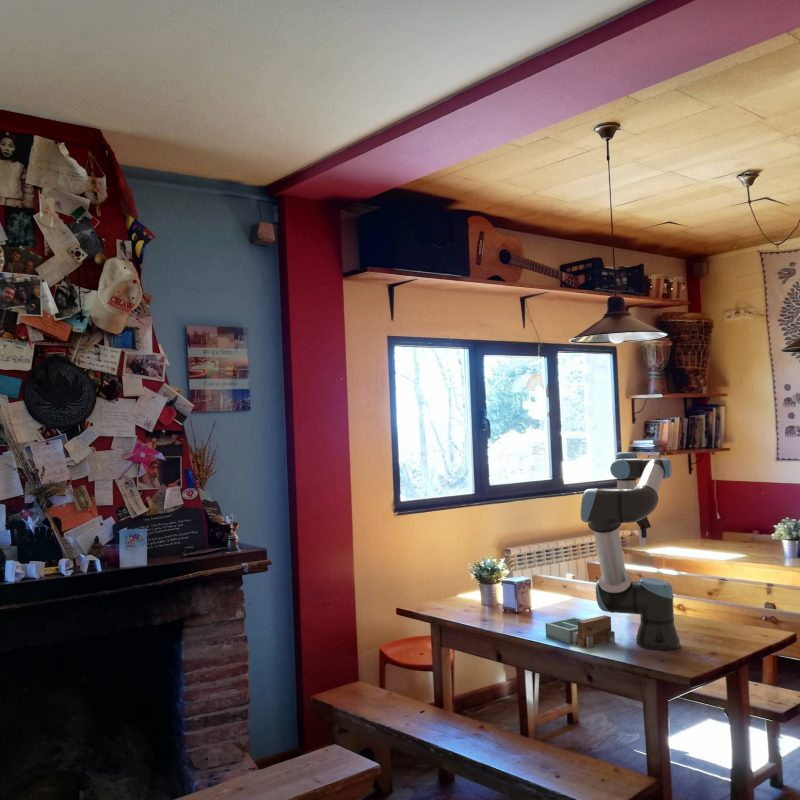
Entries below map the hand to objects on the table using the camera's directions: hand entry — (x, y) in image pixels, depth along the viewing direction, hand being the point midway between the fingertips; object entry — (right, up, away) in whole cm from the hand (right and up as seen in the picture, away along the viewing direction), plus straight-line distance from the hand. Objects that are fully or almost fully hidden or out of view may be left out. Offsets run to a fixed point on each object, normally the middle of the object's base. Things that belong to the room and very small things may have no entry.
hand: (629, 544), depth 317 cm
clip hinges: (-20, -32, -26) cm, 46 cm away
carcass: (-26, -32, -17) cm, 45 cm away
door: (-20, -32, -26) cm, 46 cm away
